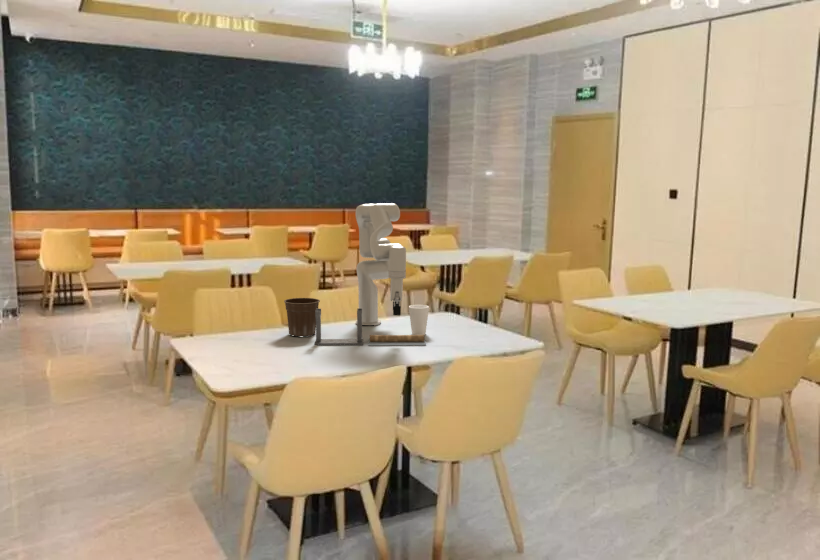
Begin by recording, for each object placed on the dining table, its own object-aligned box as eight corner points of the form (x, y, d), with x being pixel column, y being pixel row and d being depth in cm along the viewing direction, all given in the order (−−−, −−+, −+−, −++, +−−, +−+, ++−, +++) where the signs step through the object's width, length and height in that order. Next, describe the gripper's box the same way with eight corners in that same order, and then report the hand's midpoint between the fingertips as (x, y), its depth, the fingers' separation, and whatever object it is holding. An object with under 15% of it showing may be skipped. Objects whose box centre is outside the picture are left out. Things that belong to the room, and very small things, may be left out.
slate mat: (369, 340, 320) (369, 338, 320) (424, 339, 321) (424, 338, 321) (368, 346, 310) (368, 344, 310) (426, 345, 311) (426, 344, 310)
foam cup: (428, 336, 329) (428, 308, 327) (408, 336, 329) (408, 308, 327) (428, 331, 338) (428, 304, 336) (409, 331, 339) (409, 304, 337)
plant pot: (311, 329, 343) (310, 296, 340) (326, 335, 329) (325, 301, 327) (279, 333, 334) (278, 299, 332) (293, 340, 321) (292, 304, 318)
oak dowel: (369, 342, 314) (369, 336, 313) (369, 340, 316) (369, 334, 316) (424, 342, 315) (424, 336, 314) (424, 340, 317) (424, 333, 317)
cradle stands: (316, 341, 318) (315, 308, 316) (363, 341, 319) (363, 308, 317) (314, 345, 310) (313, 311, 308) (362, 345, 311) (362, 311, 309)
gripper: (388, 271, 320) (387, 308, 323) (388, 277, 303) (388, 317, 306) (405, 271, 320) (404, 308, 323) (406, 277, 303) (405, 317, 306)
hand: (396, 312), depth 314 cm, fingers open, 9 cm apart
